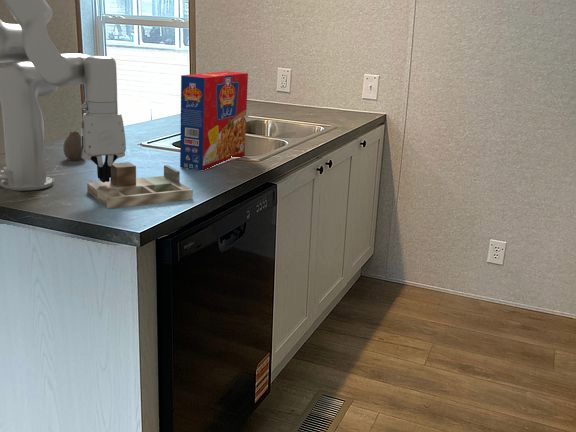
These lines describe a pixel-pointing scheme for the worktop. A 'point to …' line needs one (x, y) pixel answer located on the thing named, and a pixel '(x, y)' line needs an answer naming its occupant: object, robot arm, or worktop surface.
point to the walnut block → (123, 174)
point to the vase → (73, 146)
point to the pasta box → (212, 118)
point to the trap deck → (142, 190)
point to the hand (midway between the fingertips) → (104, 180)
